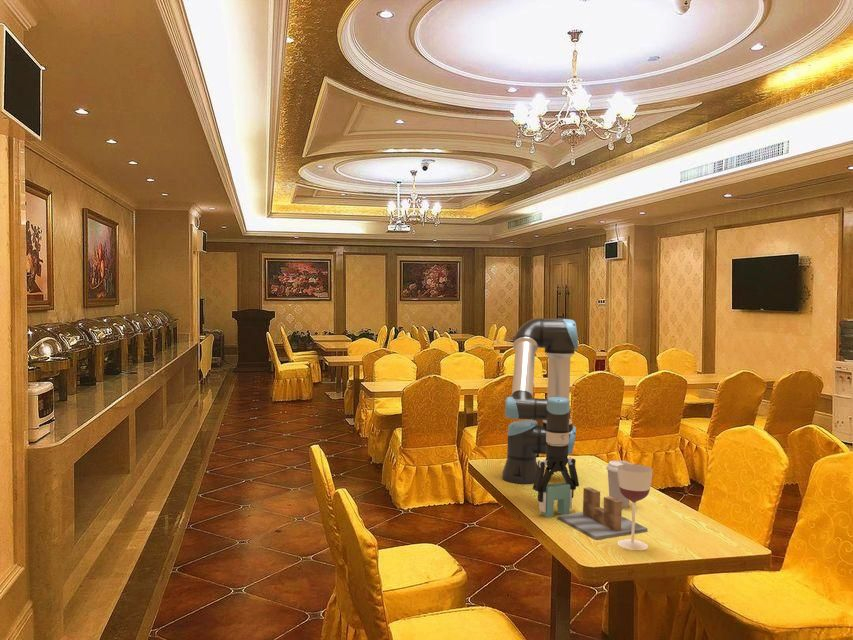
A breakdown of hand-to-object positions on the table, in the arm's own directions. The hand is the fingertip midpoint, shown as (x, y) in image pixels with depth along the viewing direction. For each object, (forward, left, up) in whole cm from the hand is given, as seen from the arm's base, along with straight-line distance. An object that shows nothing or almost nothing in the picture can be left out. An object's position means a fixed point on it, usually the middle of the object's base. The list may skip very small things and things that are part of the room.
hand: (555, 509), depth 221 cm
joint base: (+14, +8, -2) cm, 16 cm away
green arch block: (0, 0, -2) cm, 2 cm away
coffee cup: (0, +27, -2) cm, 27 cm away
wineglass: (+31, +6, -2) cm, 32 cm away
